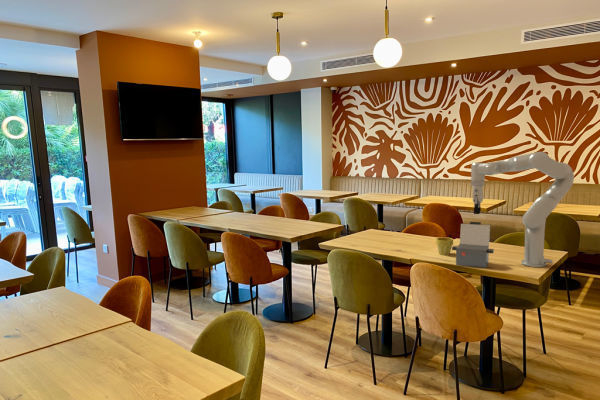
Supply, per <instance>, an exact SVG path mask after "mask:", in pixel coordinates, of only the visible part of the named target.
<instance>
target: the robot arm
mask: <svg viewBox="0 0 600 400" xmlns="http://www.w3.org/2000/svg"><path fill="white" fill-rule="evenodd" d="M470 167H471V168H470V169H471V172H470V180H471V181H470V186H471V187H472V202H473V203H474V204H473V214H474V215H480V214H481V212H482V211H481V209H482V207H481V203H482V202H484V186H485V180H486V177H485V176H495V175H499V174H504V173H509V172H510V173H511V172H522V171H528V170H533V169H536V170H538V171H539V172H541V173H542V174H545V175H546V176H548V177H551V178H552V179H554V180H553V182H552V184H550V186H549V188H548V189H546V191H545V192H544V193H543V194H542V195H540V196H539V197H537V198H536V199H535V201H534V202H533V203H532V205H530V207H529V208H528V209H527V210H526V212H525V213H524V214H523V216H522V224H523V225H524V226H525V230H524V232H525V233H524V254H523V255H524V256H523V257H524V258H523V260H521V261H520V264H521V265H523V266H527V267H533V268H544V267H547V264H553V263H554V261H553V259H550V258H545V255H544V250H545V249H544V248H545V230H546V229H545V228H546V219H547V218H548V216H549V215H550V214H551V213H552V212H553V211H554V210H555V209H556V208H557V207H558V205H559V204H560V202H561V200H563V198H564V197H565V196H566V194H567V193H568V192H569V190H571V188H572V186H573V184H574V182H575V181H574V179H575V174H574V171H573V168H572V167H571V166H570V165H569V164H568V163H566V162H563V161H562V162H559V161H558V160H556V159H553V158H552V157H550V156H549V155H548V154H547V153H546V152H545V151H538V152H531V153H527V154H523V155H516V156H513V157H510V158H507V159H503V160H498V161H497V160H496V161H490V162H485V163H484V162H473V163H472V164H471V166H470Z"/></svg>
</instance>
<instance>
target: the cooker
mask: <svg viewBox="0 0 600 400" xmlns="http://www.w3.org/2000/svg"><path fill="white" fill-rule="evenodd" d="M451 250H452V251H456V253H455V257H456V258H455V266H461V267H473V268H482V269H483V268H484V269H487V267H488V265H489V261H490V260H489V254H494V248H490V245H489V246H482V245H469V244H460V243H459V244H458V246H457V245H452V248H451Z"/></svg>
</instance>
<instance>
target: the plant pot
mask: <svg viewBox="0 0 600 400" xmlns="http://www.w3.org/2000/svg"><path fill="white" fill-rule="evenodd" d="M435 244H436V245H437V250H438V254H439V255H440V256H449V255H451V250H452V247H453V246H454V239H453V238H451V237H444V236H443V237H442V236H441V237H436V239H435Z"/></svg>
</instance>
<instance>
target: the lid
mask: <svg viewBox="0 0 600 400" xmlns="http://www.w3.org/2000/svg"><path fill="white" fill-rule="evenodd" d="M490 229H491V225H490V224H482V222H481V221H469V223H460V234H459V244H469V245H482V246H489V247H490V235H491V234H490V232H491V230H490Z"/></svg>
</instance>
